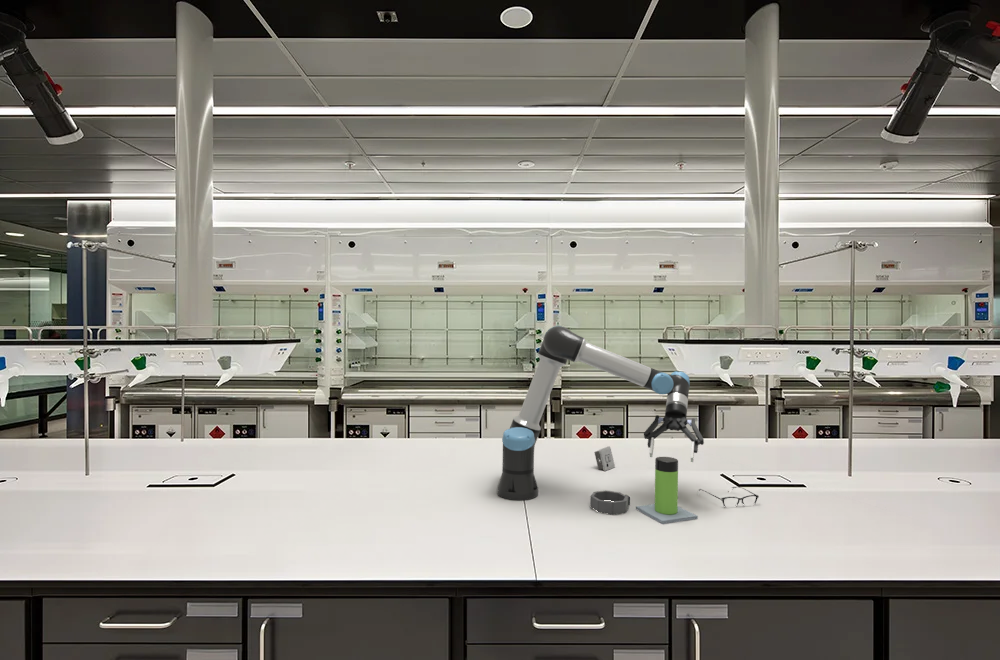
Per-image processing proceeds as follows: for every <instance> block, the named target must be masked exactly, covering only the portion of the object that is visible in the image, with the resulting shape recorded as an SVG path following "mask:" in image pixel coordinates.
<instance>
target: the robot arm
mask: <svg viewBox="0 0 1000 660" xmlns="http://www.w3.org/2000/svg"><path fill="white" fill-rule="evenodd" d="M537 355H538V358H539V361H538V363H537V367H536V369H535V370H534V371H535V372H534V375H533V377H532V379H531V382H530V385H529V388H528V390H527V393H526V395H525V398H524V400H523V403H522V406H521V409H520V411H519V414H518V415H517V416H514V417H513V419H512V422H511V424H510V427H509V428H507V429H506V430H504V432H503V434H502V438H501V439H502V464H501V465H502V466H501V467H502V469H501V470H502V471H501V476H500V478H499V481H498V485H497V489H496V490H497V491H496V493H497V495H498V497H500V498H503V499H506V500H512V501H524V500H531V499H535V498H537V497H538V495H539V487H538V483H537V479H536V476H535V472H534V471H535V470H534V468H535V466H534V465H535V462H534V461H535V448H536V447H535V445H536V443H537V441H538V438H539V435H540V433H541V430H542V428H541V426H540V421H541V420H542V416H543V413H544V411H545V409H546V406H547V403H548V402H549V398H550V395H551V392H552V390H553V388H554V386H555V382H556V380H557V377H558V375H559V372H560V370H561V368H562V367H563V366H566V365H567V362H568V361H571V362H573V363H577V362H580V363H583V364H586V365H588V366H590V367H593V368H595V369H598V370H600V371H603V372H606V373H608V374H611V375H612V376H615V377H619V378H621V379H623V380H625V381H628V382H630V383H633V384H636V385H638V386H640V387H643V388H644V389H647V390H650V391H653V392H654V393H656V394H659V395H667V396H666V403H665V412H664V416H663V417H661V416H659V415H655V418H654V420H653V421H652V422H651V424H650V425H649V426H648V427H647V428H646V430H645V431H644V432H643V438H644V440H647V448H649V457H650V458H653V456H654V448H655V447H654V446H655V439H656V438H657V437H659V436H660V435H662V434H663V433H665V432H666V431H668V430H670V431H678V432H679V431H681V432H682V433H684V434H685V436H686V437H687V438H688V439H689V440H690V441H691V448H690V449H691V450H690V462H691V463H694V459H695V458H694V457H695V454H698V452H699V451H698V450H699V449H698V448H699V445H700V446H703V445H704V444H705V442H704V440H705V439H704V437H703V435H702V433H701V432H700V430H699V428H698V426H697V424H696V419H695V418H691V419H687V415H688V407H689V406H688V404H689V393H690V386H691V385H690V383H691V382H690V376H689V375H688V374H687V373H686V372H683V371H677V370H675V371H673V372H671V374H669V373H666V372H663V371H661V370H658V369H655V368H652V367H651V366H647V365H645V364H642V363H640V362H638V361H636V360H632V359H630V358H628V357H626V356H623V355H620V354H618V353H615V352H613V351H610V350H607V349H605V348H603V347H600V346H598V345H595V344H593V343H591V342H588V341H586V338H585V337H583V336H581V335H578V334H577V333H574V332H572V331H571V330H570V329H568V328H567V327H565V326H562V325H555V326H552V327H550V328H549V329H548V330H546V332H545V333H544V335H543V339H542V343H541V345H540V348H539V350H538V352H537ZM662 422H663V423H662ZM661 423H662V425H661ZM659 424H660V426H658V425H659ZM687 425H689V426H690V427H691V429H692V431H693V433H694V434H695V435H694V434H693V433H692V432H691V431H690V429H689V428H688V427H687Z"/></svg>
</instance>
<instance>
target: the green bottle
mask: <svg viewBox="0 0 1000 660" xmlns="http://www.w3.org/2000/svg"><path fill="white" fill-rule="evenodd" d="M654 463H655V467H654V468H655V469H654V504H655V511H657V512H658V513H661V514H668V515H672V514H676V513H677V511H678V501H679V500H678V497H679V493H678V491H679V460H678V459H677V458H675V457H672V456H671V457H670V456H657V457H656V458H655V459H654Z"/></svg>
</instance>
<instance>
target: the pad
mask: <svg viewBox="0 0 1000 660" xmlns="http://www.w3.org/2000/svg"><path fill="white" fill-rule="evenodd" d="M636 509H638V510H639V511H638V510H637V511H638V512H640V513H642V514H644V515H645V516H647V517H649V518H650V519H652V520H655V521H656V522H658V523H660V524H662V525H665V524H672V523H678V522H685V521H692V520H697V519H698V518H699V516H698V515H697V514H696V513H695V514H694V513H693V512H691V511H689V510H687V509H685V508H682V507H680V506H678V511H677V513H676V514H672V515H668V514H661V513H658V512H657V511H655V503H651V504H650V503H649V504H645V505H644V504H642V505H636V506H635V510H636Z"/></svg>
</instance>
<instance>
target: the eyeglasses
mask: <svg viewBox="0 0 1000 660" xmlns="http://www.w3.org/2000/svg"><path fill="white" fill-rule="evenodd" d="M732 488H733V489H736V488H737V486H733V487H732ZM738 488H740V489H743V490H744V491H747V492H748V493H750V494H751V495H746V496H743V497H737V496H727V497H721V498H720V497H718V496H716V495H715V494H712V493H711V492H708V491H706V490H704V489H701V488H699V489H698V490H699V491H703V492H705V493H707V494H709V495H711V496H712V497H715V498H716V499H718V500H720V501H722V504H723V506H725V507H726V505H725V500H726V499H737V502H736V504H737V506H739V503H740V502H741V504H742V505H743V504H744V505H745V503H744V499H746V498H749V497H755V500H754V503H755V504H756V503H757V500H758V499H759V495H758V494H755V493H753V492H752V491H750V490H748V489H746V488H744V487H740V486H738Z"/></svg>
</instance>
